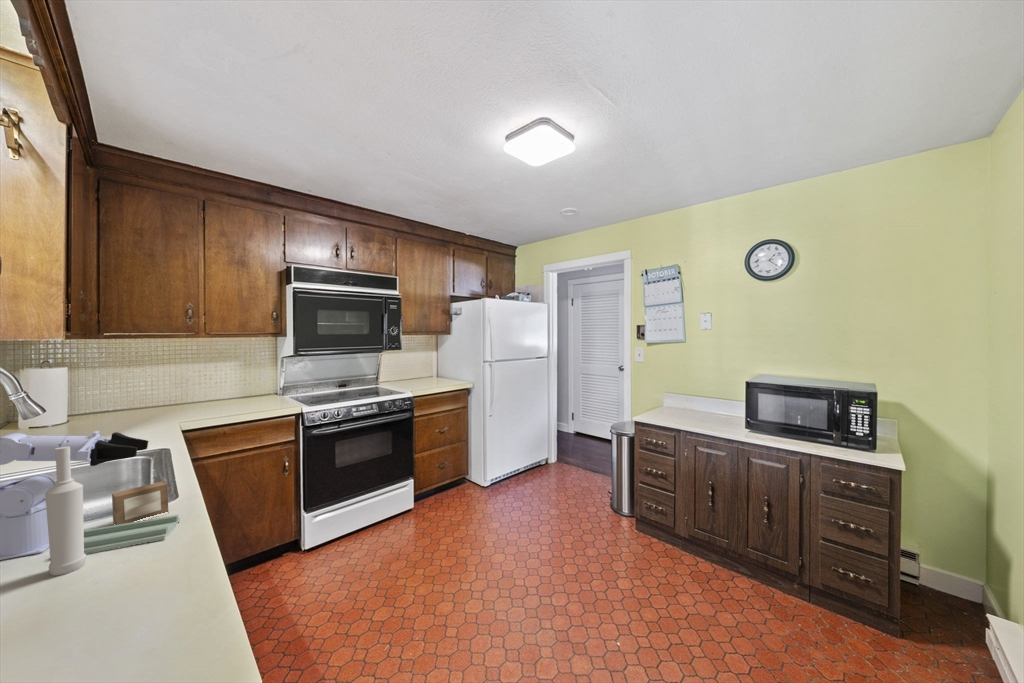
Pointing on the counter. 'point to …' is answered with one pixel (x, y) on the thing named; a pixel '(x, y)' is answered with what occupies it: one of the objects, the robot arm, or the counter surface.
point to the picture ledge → (128, 534)
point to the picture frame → (139, 503)
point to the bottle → (65, 518)
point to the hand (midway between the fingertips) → (142, 448)
